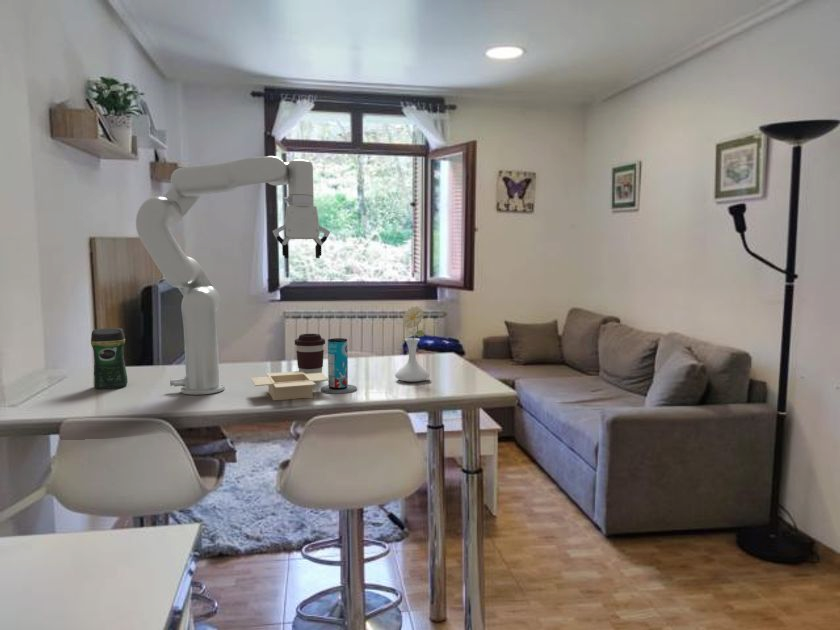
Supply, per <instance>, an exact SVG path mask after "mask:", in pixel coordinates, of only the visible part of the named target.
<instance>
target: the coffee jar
mask: <svg viewBox="0 0 840 630" xmlns="http://www.w3.org/2000/svg"><path fill="white" fill-rule="evenodd" d="M90 337H91V338H90V345H91V347H92V350H93V381H92V382H93V387H94V388H95V389H99V390H102V389H103V390H105V389H116V388H121V387H126V386H127V385H128V373H127V367H126V362H125V357H124V355H125V354H124V353H125V352H124V346H125V343H126V338H125V333H124V329H123V328H122V327H121V328H120V327H110V328H109V327H108V328H107V327H105V328H97V329H94V330H92V331H91V336H90Z"/></svg>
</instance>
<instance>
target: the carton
mask: <svg viewBox="0 0 840 630" xmlns="http://www.w3.org/2000/svg"><path fill="white" fill-rule="evenodd" d="M265 375H266V376H257V377H251V378H250V379H251V381H252V383H253V385H254V387H261V386H268V391H267V392H268V393H269V395H270V397H271V399H272V400H273V401H283V400H294V399H306V398H307V399H308V398H313V395H314V394H313V392H314V389H313V386H317V384H316V383H315V382H317V383H318V382H328V381H329V379H328V377H327V376H326V375H325V374H324V373H323V372H322V373H310V374H305V373H304V372H303V371H299V370H298V371H297V370H296V371H287V372H286V371H283V372H282V371H281V372H268V373H265Z"/></svg>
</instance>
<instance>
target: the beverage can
mask: <svg viewBox="0 0 840 630" xmlns="http://www.w3.org/2000/svg"><path fill="white" fill-rule="evenodd" d="M348 356H349V355H348V339H347V338H343V337H342V338H336V337H335V338H328V339H327V374H328V375H327V376H328V377H327V378H328V379H329V381H327V382H328V383H327V385H328V386H329V388H330V389H336V390H338V389H345V388H347V386H348V385H349V383H348V382H349V381H348V380H349V378H348V377H349V376H348V373H349V372H348V371H349V370H348V369H349V367H348V366H349V365H348V362H349V361H348V360H349V359H348Z"/></svg>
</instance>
